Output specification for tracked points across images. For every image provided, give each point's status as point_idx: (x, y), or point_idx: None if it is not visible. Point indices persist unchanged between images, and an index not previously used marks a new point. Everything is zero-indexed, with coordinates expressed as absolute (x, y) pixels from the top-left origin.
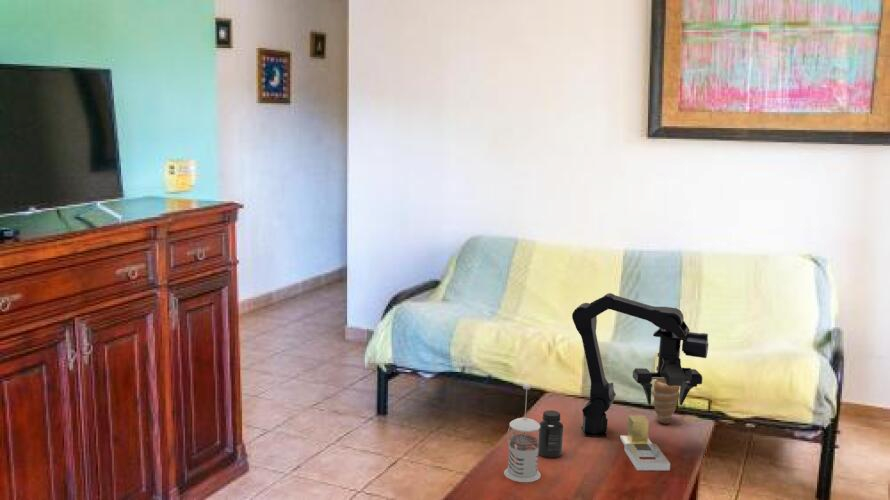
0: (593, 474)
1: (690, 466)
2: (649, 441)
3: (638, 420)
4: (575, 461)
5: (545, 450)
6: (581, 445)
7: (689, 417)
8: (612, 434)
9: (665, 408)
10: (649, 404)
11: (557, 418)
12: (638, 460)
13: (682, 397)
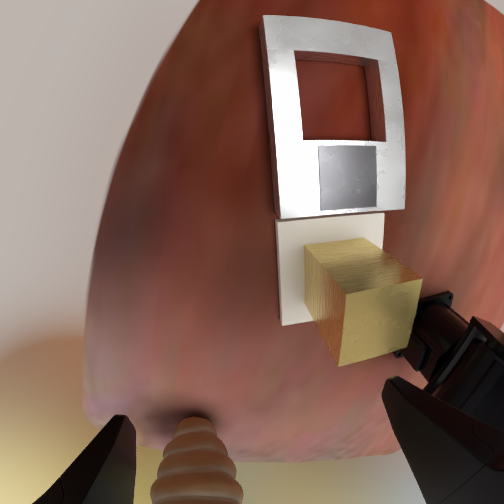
0: (471, 51)
1: (158, 71)
2: (285, 276)
3: (394, 297)
4: (497, 129)
5: None
6: (474, 230)
7: None
8: None
9: (197, 452)
10: (397, 376)
11: None
12: (386, 52)
13: (98, 468)
